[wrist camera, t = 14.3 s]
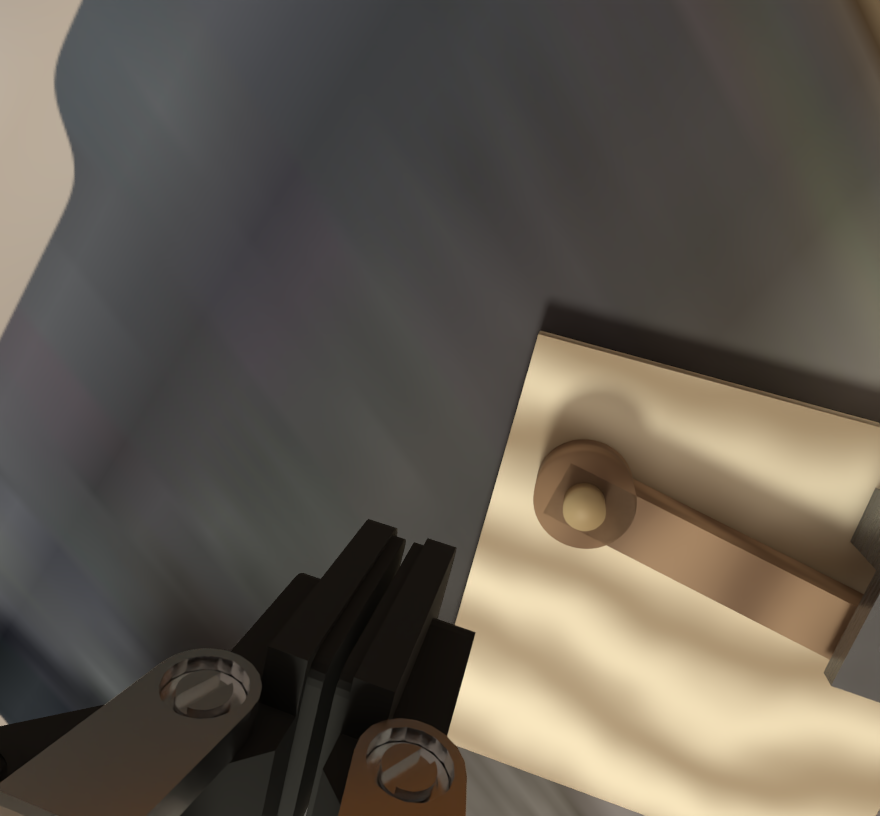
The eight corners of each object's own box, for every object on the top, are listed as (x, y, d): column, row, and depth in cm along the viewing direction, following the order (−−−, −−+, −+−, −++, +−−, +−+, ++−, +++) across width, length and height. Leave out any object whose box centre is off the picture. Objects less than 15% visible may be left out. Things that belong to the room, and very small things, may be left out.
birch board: (540, 330, 35) (538, 334, 33) (1043, 467, 31) (1066, 478, 30) (429, 716, 42) (423, 733, 41) (826, 862, 39) (836, 886, 37)
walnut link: (520, 501, 35) (513, 529, 32) (563, 422, 34) (561, 443, 30) (876, 683, 34) (910, 734, 30) (938, 609, 32) (981, 654, 29)
